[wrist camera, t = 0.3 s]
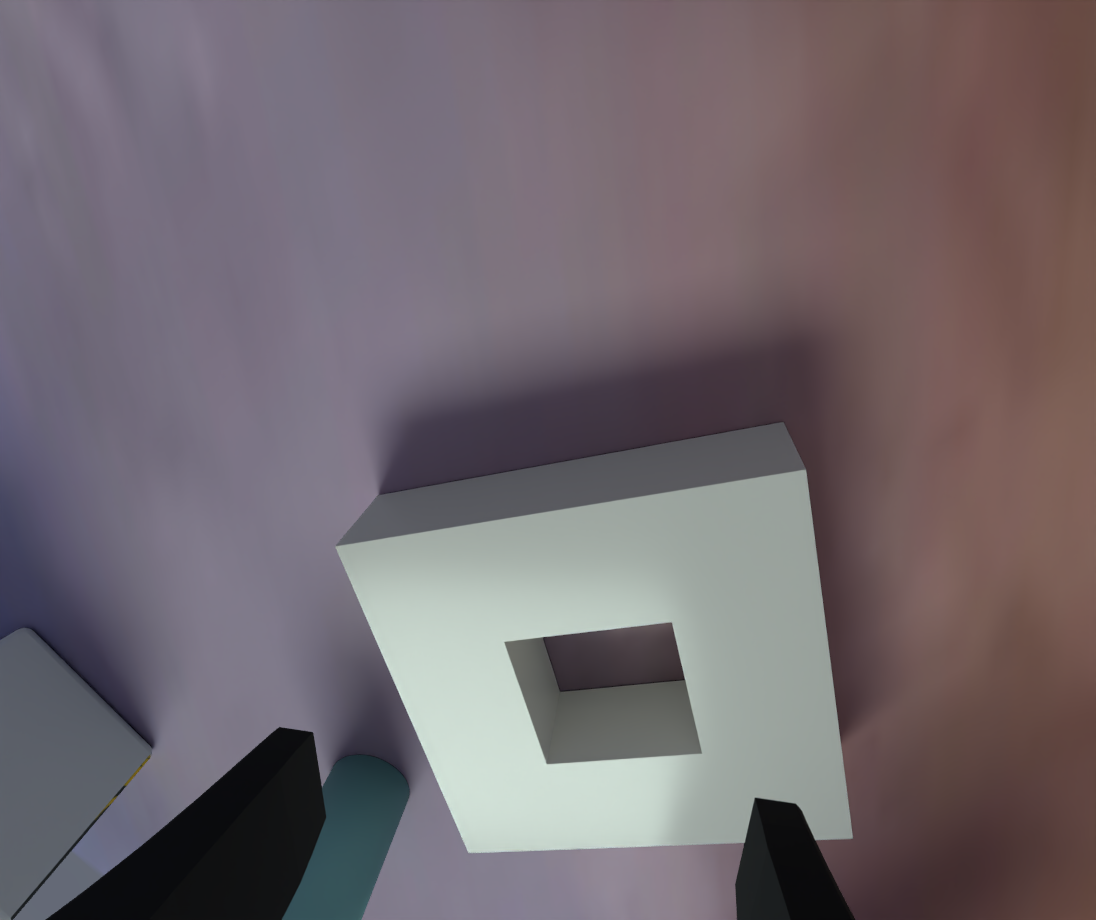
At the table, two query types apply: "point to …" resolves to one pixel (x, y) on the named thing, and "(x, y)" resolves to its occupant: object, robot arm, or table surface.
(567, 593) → the socket slab
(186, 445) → the table surface
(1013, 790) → the table surface
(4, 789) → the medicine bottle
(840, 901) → the robot arm
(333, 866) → the peg
